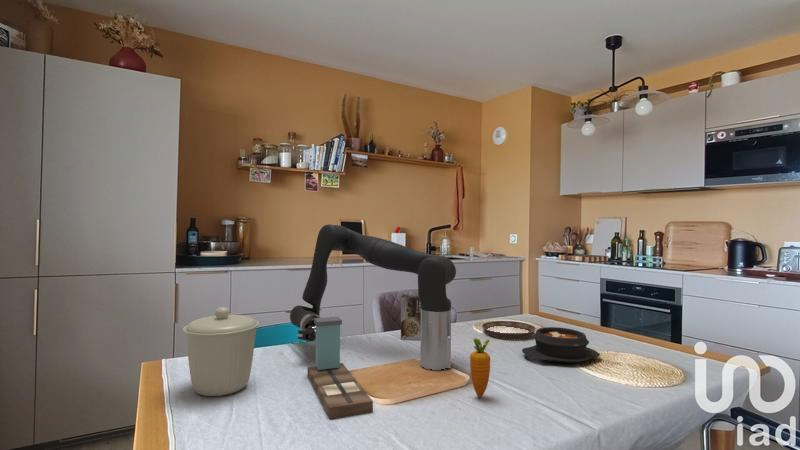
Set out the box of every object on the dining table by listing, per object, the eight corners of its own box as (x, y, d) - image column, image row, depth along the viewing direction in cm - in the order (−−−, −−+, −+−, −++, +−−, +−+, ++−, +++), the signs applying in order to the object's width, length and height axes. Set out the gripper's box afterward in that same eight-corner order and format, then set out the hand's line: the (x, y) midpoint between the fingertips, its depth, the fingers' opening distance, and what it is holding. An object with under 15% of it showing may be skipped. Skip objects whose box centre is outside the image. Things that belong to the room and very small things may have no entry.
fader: (313, 365, 115) (314, 318, 115) (337, 362, 118) (337, 316, 118) (316, 370, 111) (317, 322, 111) (341, 367, 113) (341, 320, 113)
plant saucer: (482, 340, 154) (482, 331, 154) (481, 327, 175) (481, 319, 175) (539, 343, 151) (539, 334, 151) (531, 329, 171) (531, 321, 171)
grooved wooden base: (307, 375, 115) (307, 366, 115) (342, 371, 119) (342, 362, 119) (329, 419, 89) (329, 407, 89) (372, 412, 93) (372, 400, 93)
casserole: (541, 370, 122) (541, 342, 122) (511, 351, 140) (511, 327, 140) (614, 365, 127) (614, 338, 127) (576, 347, 145) (576, 324, 145)
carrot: (491, 395, 103) (491, 335, 103) (488, 403, 98) (489, 341, 98) (471, 392, 105) (471, 334, 105) (468, 400, 100) (468, 338, 100)
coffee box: (425, 336, 159) (425, 294, 159) (424, 340, 152) (424, 297, 152) (401, 335, 159) (402, 293, 160) (400, 339, 153) (400, 296, 153)
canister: (181, 409, 93) (182, 317, 94) (182, 382, 109) (183, 303, 110) (263, 395, 102) (264, 310, 102) (253, 372, 118) (254, 299, 118)
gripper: (292, 316, 133) (300, 329, 117) (332, 313, 138) (346, 325, 122) (292, 340, 133) (300, 355, 117) (332, 336, 138) (345, 350, 122)
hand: (323, 340), depth 119 cm, fingers closed
